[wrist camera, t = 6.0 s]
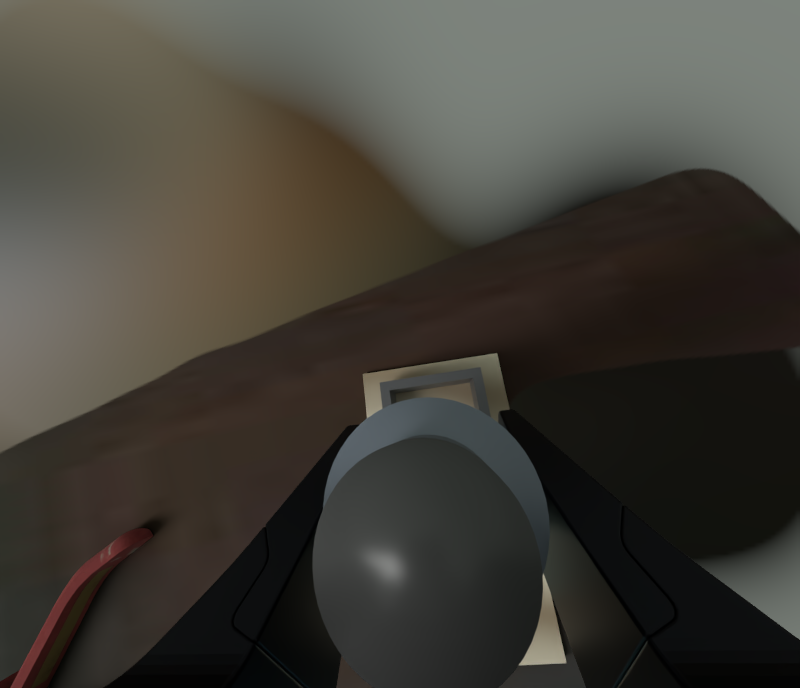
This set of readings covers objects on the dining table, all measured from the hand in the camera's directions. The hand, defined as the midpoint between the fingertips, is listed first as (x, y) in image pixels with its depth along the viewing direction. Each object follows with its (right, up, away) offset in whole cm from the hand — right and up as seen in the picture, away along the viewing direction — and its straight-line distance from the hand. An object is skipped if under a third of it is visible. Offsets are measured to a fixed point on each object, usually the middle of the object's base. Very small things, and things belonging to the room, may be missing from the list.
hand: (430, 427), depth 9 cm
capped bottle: (+1, -3, +6) cm, 7 cm away
